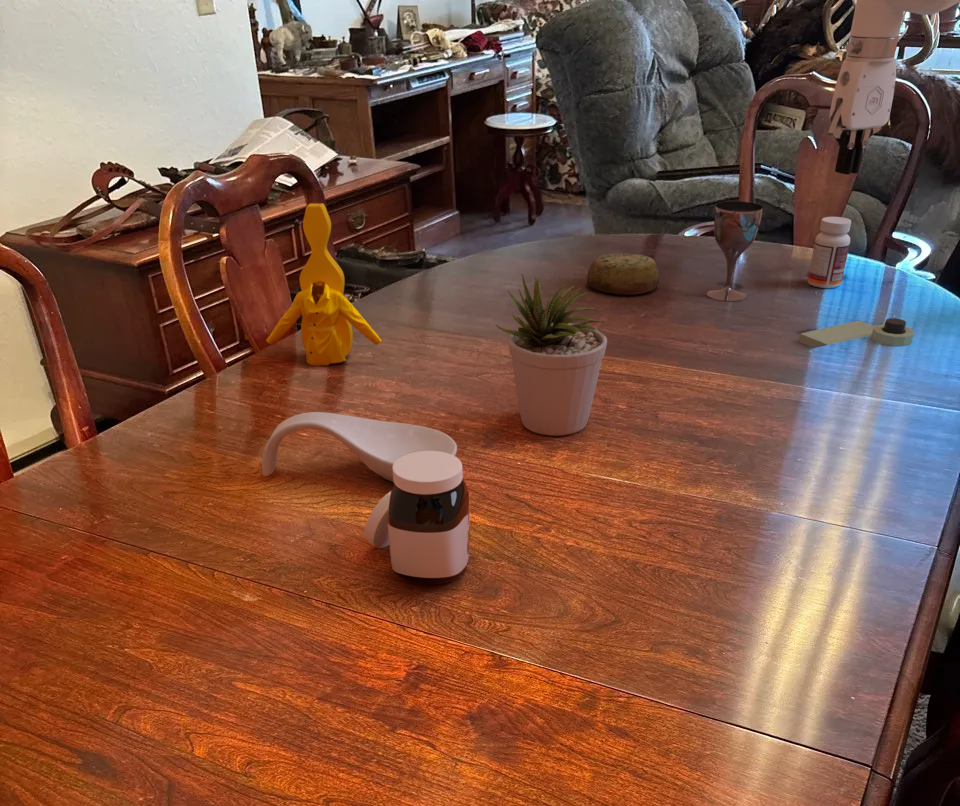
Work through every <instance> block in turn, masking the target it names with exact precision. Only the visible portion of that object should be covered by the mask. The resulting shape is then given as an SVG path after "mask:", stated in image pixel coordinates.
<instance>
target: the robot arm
mask: <svg viewBox="0 0 960 806" xmlns="http://www.w3.org/2000/svg"><path fill="white" fill-rule="evenodd" d="M958 3H960V0H856V2H855V7H854V8H855V9H854V12H853V18H852V23H851V27H850V32H849V38H848V39H849V40H848V43H847V45H846V46H845V52H846V55H845V59H844V60H843V62H842V64H841V68H840V69H839V73H838V76H837V80H836V84H835V87H834V91H833V94H832V100H831V105H830V109H829V116H828V123H829V127H828V128H829V129H828V132H827V135H828V136H830V137H832V138H834V139H835V140H836V146H837V147H838V151H837V152H838V153H837V158H836V163H835V168H834V171H835V173H838V174H841V175H851V174H854V175H855V174H858V173H859V172H860V167H861V163H862V157H863V152H864V149H865V148H866V147H867V145H868V143H869V140H870V139H871V137H872V136H873V135H874V134H876V133H879V132H880V131H881V130H882V127H884V126H886V124H887V123H888V122H889V120H890V115H891V111H892V105H893V102H894V101H893V100H894V94H895V87H896V79H897V58H895V55H896V51H897V47H898V46H897V45H898V42H899V41H898V40H899V36H900V31H901V27H902V22H903V17H904V13H905V12H907V13H911V14H916V15H923V16H932V15H935V14H938V13H940V12H942V11H945V10H947V9H949V8H951V7H954V6H955V5H957V4H958Z"/></svg>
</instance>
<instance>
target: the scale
mask: <svg viewBox="0 0 960 806" xmlns="http://www.w3.org/2000/svg"><path fill="white" fill-rule="evenodd" d="M884 325H885V323H882V324H878V325H874V324H870V323H868V322H865V321H862V320H853V321H849V322H845V323H842V324H841V323H840V324H837V325H832V326H828V327H827V326H826V327H823V328H819V329H815V330H810V331H805V332H801V333H799V338H798V342H799V343H801V344H803V345H806V346H808V347H811V348H813V349H817V348H821V347H826V346H830V345H834V344H838V343H843V342H847V341H851V340H855V339H860V338H864V337H869V336H870V339H871V340H872V342H875V343H877V344H879V345H883V346H890V347H904V346H909V345H911V343H913V340H914V335H915V330H913V329H912V328H910V327H908V326H905V329H904V333H903V334H891V333H887V332H884V331H883V329H884Z"/></svg>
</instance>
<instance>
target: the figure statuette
mask: <svg viewBox="0 0 960 806" xmlns="http://www.w3.org/2000/svg"><path fill="white" fill-rule="evenodd" d="M331 220H332V219H331V217H330V215H329V213H328V210H327V207H326V205H325V204H324V203H322V202H321V203H309V204H308V205H306V208H305V211H304V215H303V220H302V221H303V222H302V228H303V232H304V235H305V238H306V240H307V242H308V244H309V246H310V249H311V254H310V256H309V258H308V260H307V262H306V263H305V265H304V266H303V268H302V270H301V272H300V273H299V286H300V290H301V291H298V292H297V293H296V295H295V297H294V299H293V301H292V303H291V304H290V307H289V308H288V309H287V310H286V311H285V312H284V313H283V315H282V316H281V318H280V319H279V321H278V322H277V324H275V326H274V328H273V330H272V331H271V332H270V334H268V335H269V336H268V337H267V338H266V339H265V341H266V342H267V343H268V344H270V345H273V346H274V345H276V344H277V343H279V341H280V340H281V339H282V338H283V337H284V336H285V335H286V334H287V332H289V330H290V329H291V328H292V327H293V326H294V324H295V323H296V322H297V321H298V319H299V318H300V317H301V316H302V318H301V323H300V336H301V342H302V346H303V349H304V351H305V356H306V363H307V364H308V365H310V366H316V367H317V366H330V364H339V363H342V362H345V361H346V360H347V359H346V357H348V355H349V354H350V351H351V350H352V346H353V342H354V341H353V339H354V330H353V328H355V329H356V331H358V332H359V333H360V334H361V335H362V336H364V337H365V338H366V339H367V340H368V341H370V342H371V343H372V344H374V345H375V346H377V345H379V344H381V342H382V341H383V340H382V339H381V337H380V336H379V334H377V332H376V331H375V330H374V328H373V327H372V326H371V325H370V324H369V323H368V322H367V320H366V319H365V318H364V317H363V316H362V314H361V313H360V312H359V311H358V310H357V309H356V308H355V305H353V304H352V303H351V302H350V300H349V299H348V298H347V297H346V296H345V294H344V293H345V283H346V281H345V279H346V278H345V274H344V271H343V270H342V268H341V266H340V265H339V264H338V263H337V261H336V260H335V259H334V258H333V256H332V255H331V254H330V252H329V250H328V242H329V240H330V236H331V231H332V221H331Z"/></svg>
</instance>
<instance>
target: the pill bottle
mask: <svg viewBox="0 0 960 806" xmlns="http://www.w3.org/2000/svg"><path fill="white" fill-rule="evenodd" d="M851 225H852V220H851V219H850V218H846V217H842V216H826V217H823V218H822V219H821V221H820V226H819V230H820V231H821V232H820V233H818V234H817V235H816V236H815V239H814V243H813V248H812V249H813V250H812V256H811V259H810V266H809V269H808V275H807V283H808V285H810V286H811V285H812V286H811V287H815V288H820V289H835V288H838V287H840V286H841V285H842V283H843V279H844V274H845V269H846V264H847V260H848V255H849V250H850V245H851V236H849V234H848V233H849V232H850V230H851Z"/></svg>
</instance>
